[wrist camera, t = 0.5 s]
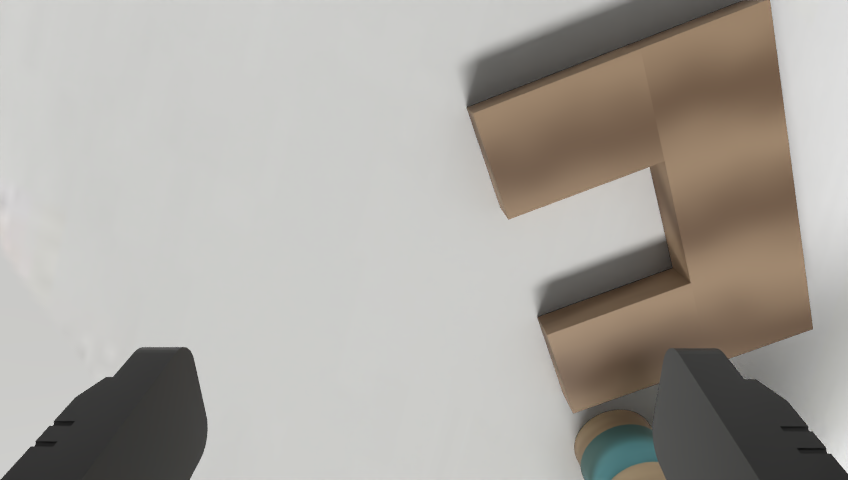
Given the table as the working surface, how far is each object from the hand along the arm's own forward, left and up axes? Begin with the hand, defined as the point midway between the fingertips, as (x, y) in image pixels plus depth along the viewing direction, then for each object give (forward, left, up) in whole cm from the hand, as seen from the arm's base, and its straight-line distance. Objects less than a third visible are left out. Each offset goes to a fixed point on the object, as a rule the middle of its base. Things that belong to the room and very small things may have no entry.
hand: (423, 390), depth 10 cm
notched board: (+8, +11, -20) cm, 24 cm away
